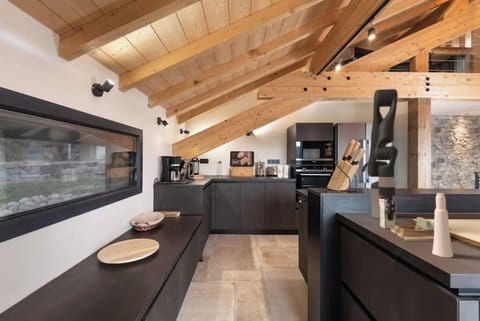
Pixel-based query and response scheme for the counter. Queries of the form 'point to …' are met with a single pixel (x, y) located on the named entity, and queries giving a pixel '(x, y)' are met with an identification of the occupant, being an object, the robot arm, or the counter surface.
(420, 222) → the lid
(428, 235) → the board
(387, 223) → the syrup box
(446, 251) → the cosmetic bottle
